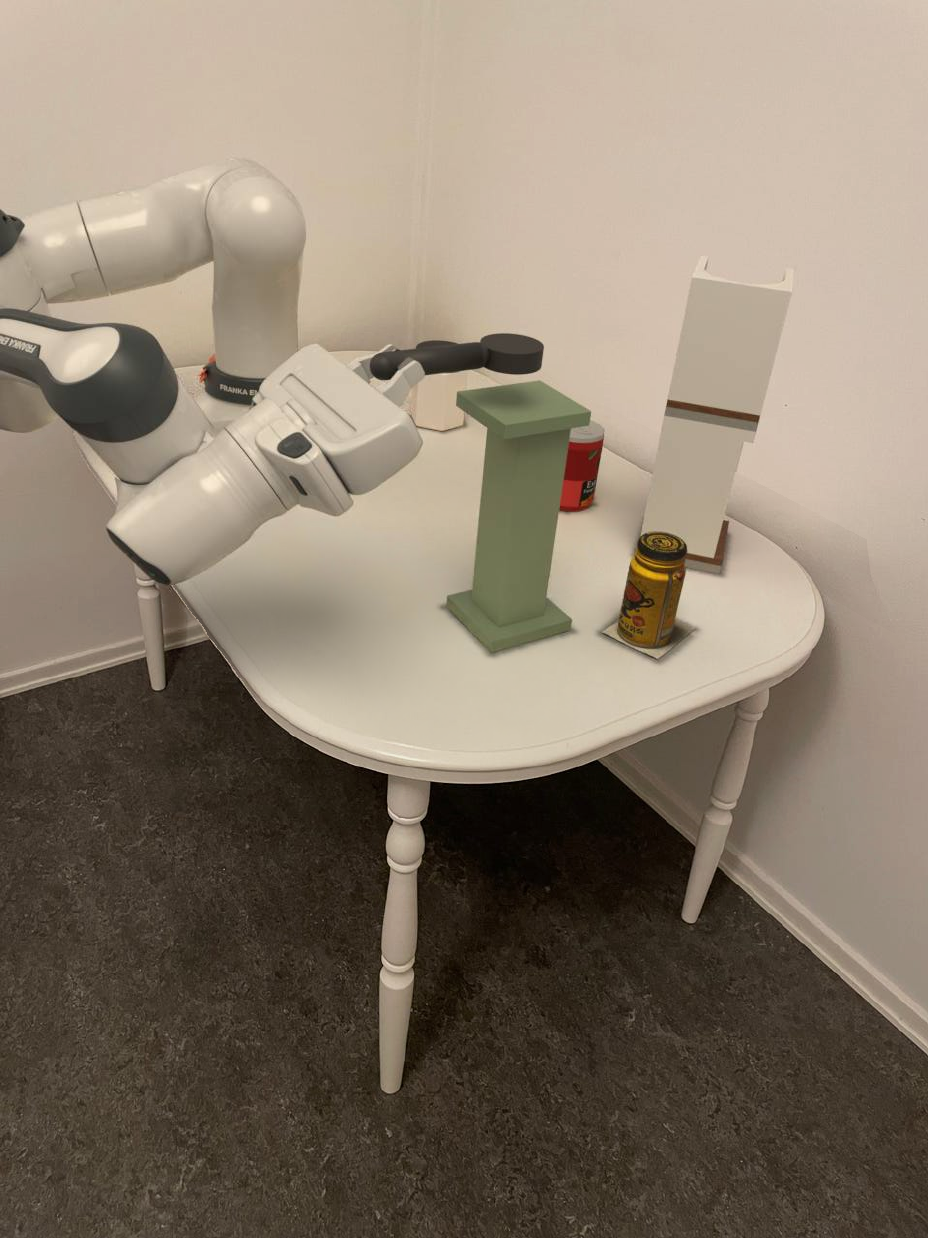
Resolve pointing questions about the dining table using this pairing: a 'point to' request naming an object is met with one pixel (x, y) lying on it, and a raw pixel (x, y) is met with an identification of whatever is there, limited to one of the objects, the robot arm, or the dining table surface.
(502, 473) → the stand
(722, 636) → the dining table surface
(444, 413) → the jar
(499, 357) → the dark grey paddle
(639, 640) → the condiment
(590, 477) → the canned food
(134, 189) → the robot arm
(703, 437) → the white channel column
